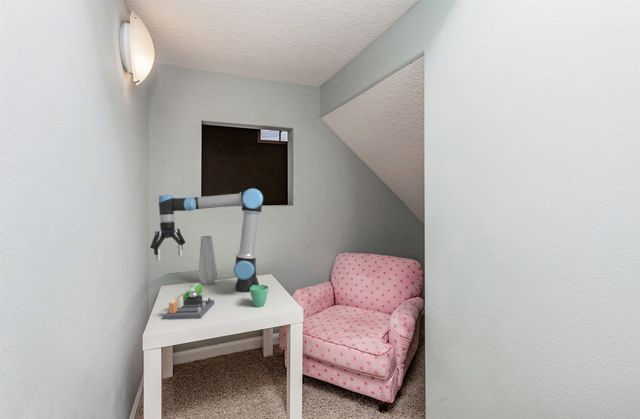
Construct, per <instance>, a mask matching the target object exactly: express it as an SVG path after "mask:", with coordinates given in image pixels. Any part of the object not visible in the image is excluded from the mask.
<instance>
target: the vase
mask: <svg viewBox="0 0 640 419" xmlns="http://www.w3.org/2000/svg"><path fill="white" fill-rule="evenodd" d="M199 246H200V248H199V262H198V279H199V281H200V282H201V285H202V286H209V285H213V284H214V283H215V281H216V279H217V278H218V271H217V270H218V269H217V263H216V256H215V249H214V244H213V236H212V235H204V236H200V245H199Z"/></svg>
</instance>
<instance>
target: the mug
mask: <svg viewBox="0 0 640 419" xmlns="http://www.w3.org/2000/svg"><path fill="white" fill-rule="evenodd" d="M268 291H269V286H268V285H264V284H259V285H252V287H250V292H249V293H250V297H251V300H252V303H253V305H254V307H256V308H262V307H264V306H265V304H266V301H267V296H268Z"/></svg>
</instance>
